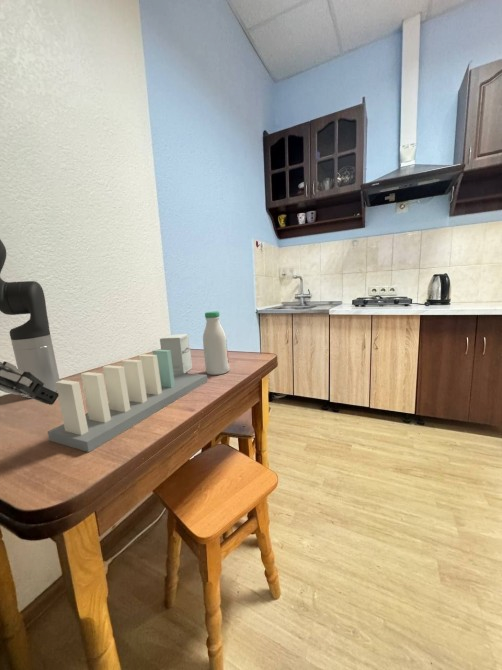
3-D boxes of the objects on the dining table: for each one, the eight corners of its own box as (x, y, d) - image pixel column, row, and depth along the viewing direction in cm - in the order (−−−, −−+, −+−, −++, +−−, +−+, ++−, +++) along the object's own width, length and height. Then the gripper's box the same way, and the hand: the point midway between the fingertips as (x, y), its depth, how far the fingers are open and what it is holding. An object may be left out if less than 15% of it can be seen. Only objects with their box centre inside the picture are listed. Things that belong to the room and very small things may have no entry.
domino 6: (171, 387, 74) (166, 351, 73) (157, 386, 76) (152, 350, 75) (175, 385, 76) (170, 350, 74) (161, 384, 78) (156, 349, 76)
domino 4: (142, 402, 65) (136, 362, 64) (127, 400, 68) (121, 360, 66) (147, 400, 67) (141, 360, 65) (132, 398, 69) (126, 359, 67)
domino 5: (158, 394, 70) (152, 356, 68) (143, 392, 72) (137, 355, 70) (162, 392, 71) (156, 354, 69) (147, 390, 73) (142, 354, 72)
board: (49, 440, 55) (47, 431, 55) (176, 378, 89) (175, 372, 88) (88, 452, 50) (87, 442, 50) (207, 381, 84) (207, 374, 83)
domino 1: (81, 435, 52) (71, 384, 50) (65, 431, 54) (55, 382, 53) (88, 431, 53) (79, 382, 52) (72, 427, 56) (62, 379, 54)
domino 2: (105, 422, 57) (96, 375, 55) (89, 419, 59) (80, 374, 57) (111, 419, 58) (103, 373, 56) (95, 416, 60) (87, 372, 58)
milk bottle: (228, 374, 88) (222, 312, 85) (204, 376, 89) (197, 314, 85) (230, 367, 96) (225, 310, 93) (208, 369, 96) (202, 311, 93)
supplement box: (184, 375, 91) (179, 337, 89) (163, 375, 93) (158, 338, 91) (193, 368, 99) (189, 333, 96) (173, 368, 100) (169, 334, 98)
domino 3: (125, 412, 61) (118, 368, 59) (109, 409, 63) (102, 367, 61) (130, 409, 62) (123, 366, 61) (115, 406, 64) (108, 365, 63)
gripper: (-17, 326, 36) (88, 383, 49) (-60, 326, 42) (45, 377, 55) (-64, 378, 32) (63, 425, 45) (-104, 371, 38) (19, 414, 51)
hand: (53, 399), depth 50 cm, fingers closed
